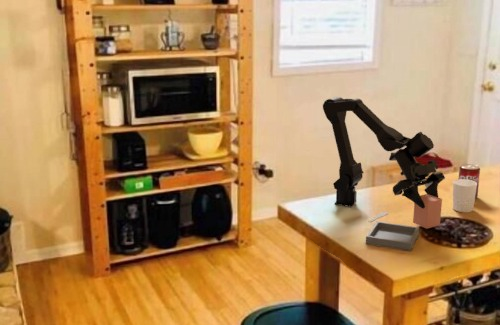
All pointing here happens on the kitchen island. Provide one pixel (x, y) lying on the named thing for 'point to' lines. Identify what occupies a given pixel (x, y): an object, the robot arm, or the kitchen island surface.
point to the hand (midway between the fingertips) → (431, 206)
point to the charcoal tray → (392, 236)
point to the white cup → (464, 195)
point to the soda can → (470, 174)
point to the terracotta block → (428, 211)
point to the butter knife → (378, 216)
